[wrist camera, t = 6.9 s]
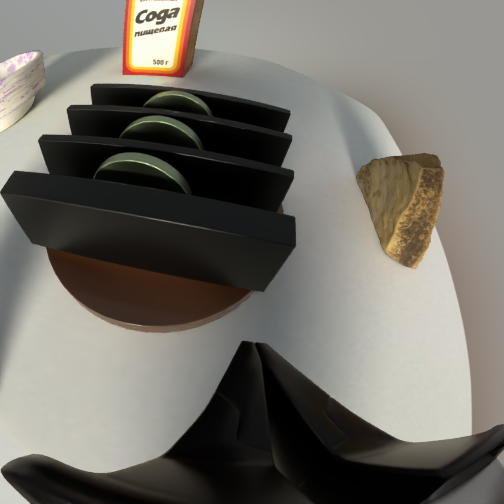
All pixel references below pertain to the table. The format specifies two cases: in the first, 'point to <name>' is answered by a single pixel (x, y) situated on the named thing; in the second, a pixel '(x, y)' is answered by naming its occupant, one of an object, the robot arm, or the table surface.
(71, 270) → the base
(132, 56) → the baking soda box
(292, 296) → the table surface
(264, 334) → the table surface
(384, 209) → the rock
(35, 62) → the paper bowls
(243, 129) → the dish rack
